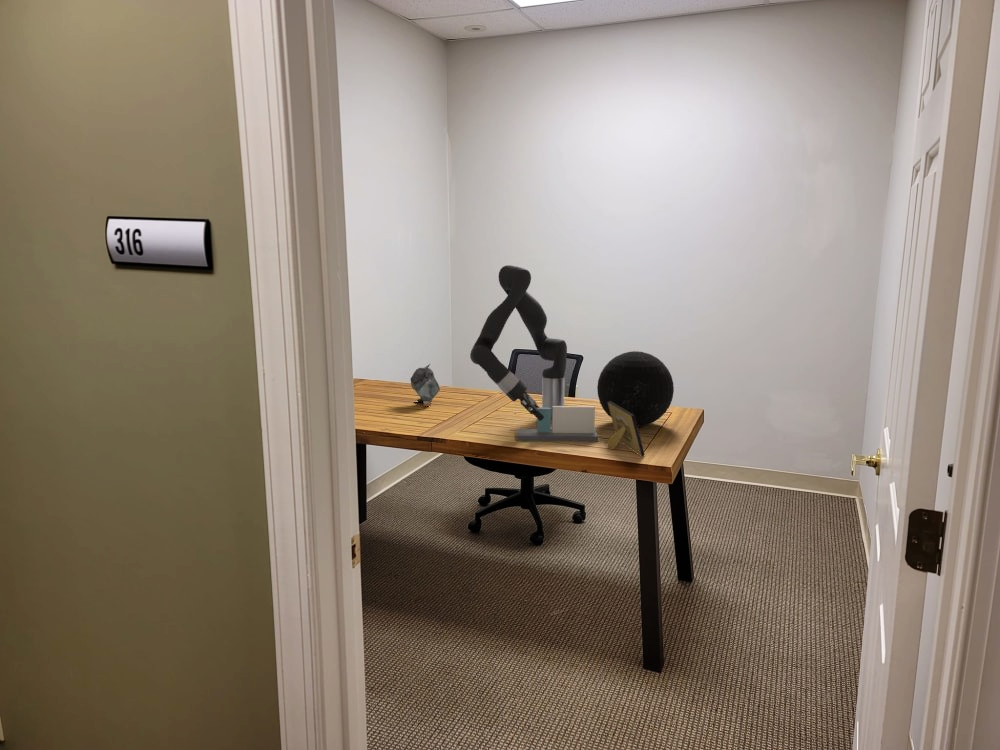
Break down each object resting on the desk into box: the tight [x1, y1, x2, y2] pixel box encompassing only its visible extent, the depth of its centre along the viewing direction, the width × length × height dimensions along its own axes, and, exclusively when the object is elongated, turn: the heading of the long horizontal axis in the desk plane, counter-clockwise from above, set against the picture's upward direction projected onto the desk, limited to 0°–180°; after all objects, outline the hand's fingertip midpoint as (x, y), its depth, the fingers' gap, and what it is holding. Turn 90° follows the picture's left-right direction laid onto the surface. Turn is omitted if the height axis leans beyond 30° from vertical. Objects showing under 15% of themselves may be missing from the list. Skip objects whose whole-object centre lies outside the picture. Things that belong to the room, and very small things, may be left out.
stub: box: [536, 407, 552, 432], centre depth 263 cm, size 1×5×9 cm, turn 88°
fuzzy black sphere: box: [596, 350, 675, 427], centre depth 280 cm, size 30×30×30 cm
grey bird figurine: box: [410, 363, 441, 406], centre depth 317 cm, size 14×15×18 cm
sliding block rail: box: [516, 405, 599, 443], centre depth 263 cm, size 10×30×12 cm, turn 88°
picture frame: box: [606, 401, 646, 457], centre depth 249 cm, size 23×9×15 cm, turn 12°
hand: (542, 416), depth 263 cm, fingers open, 8 cm apart
